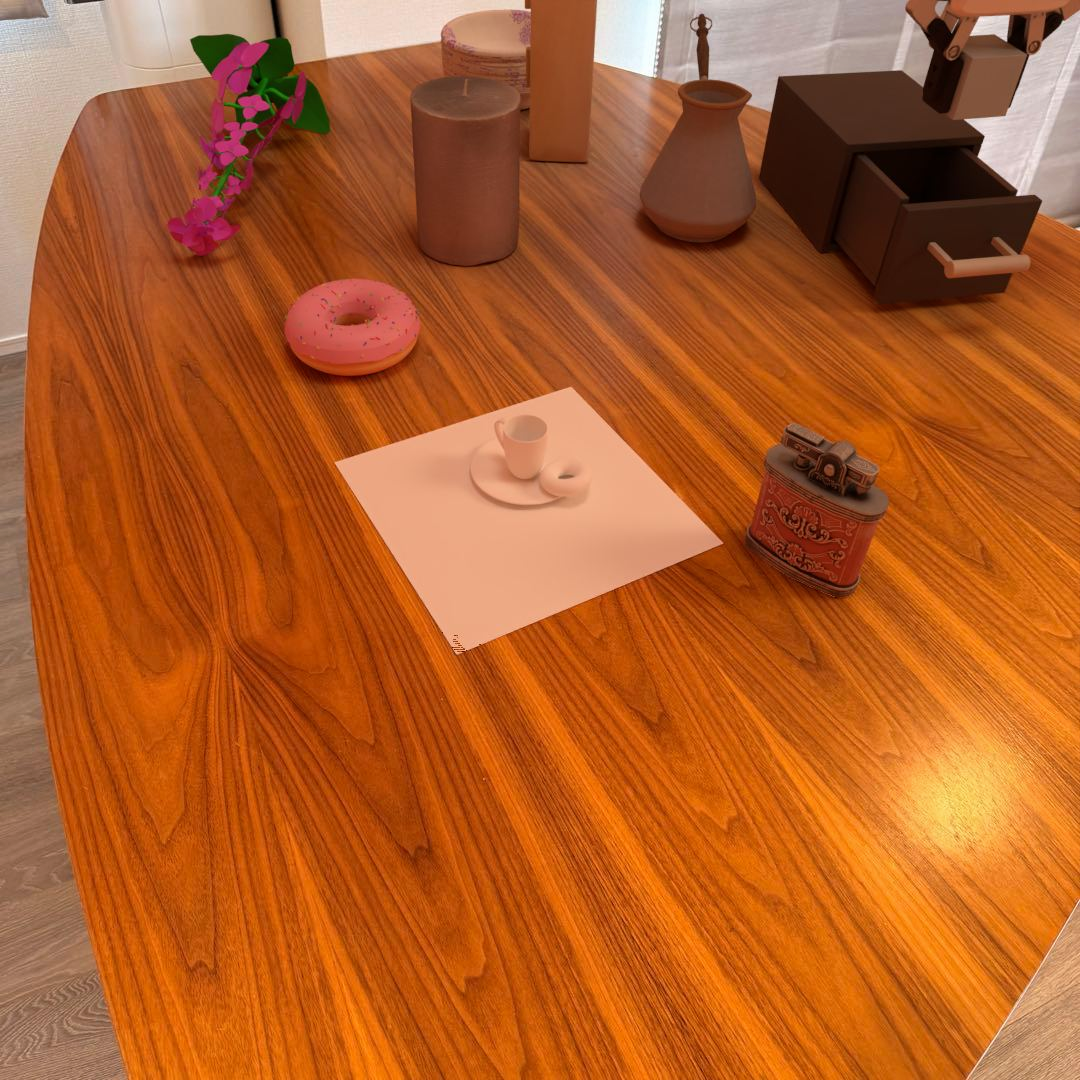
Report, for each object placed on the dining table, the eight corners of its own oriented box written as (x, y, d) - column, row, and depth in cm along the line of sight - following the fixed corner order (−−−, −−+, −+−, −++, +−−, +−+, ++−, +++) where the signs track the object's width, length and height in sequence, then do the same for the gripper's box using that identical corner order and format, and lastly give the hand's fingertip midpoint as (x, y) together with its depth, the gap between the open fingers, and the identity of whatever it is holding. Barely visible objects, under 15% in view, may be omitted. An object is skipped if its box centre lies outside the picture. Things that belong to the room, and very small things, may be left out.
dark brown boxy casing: (947, 242, 96) (985, 136, 89) (820, 253, 94) (847, 144, 87) (873, 170, 108) (901, 69, 100) (758, 177, 106) (778, 75, 98)
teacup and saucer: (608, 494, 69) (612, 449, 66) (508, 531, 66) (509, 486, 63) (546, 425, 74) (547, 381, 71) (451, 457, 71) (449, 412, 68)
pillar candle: (442, 211, 98) (435, 53, 87) (533, 229, 96) (537, 69, 85) (400, 255, 91) (388, 91, 81) (497, 276, 89) (497, 109, 79)
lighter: (866, 578, 64) (912, 462, 56) (840, 607, 62) (884, 490, 55) (761, 520, 67) (792, 403, 60) (734, 545, 65) (762, 428, 58)
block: (974, 94, 80) (994, 33, 76) (1005, 116, 76) (1027, 54, 73) (923, 97, 79) (941, 37, 76) (952, 120, 76) (972, 58, 72)
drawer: (1033, 321, 85) (1075, 227, 79) (903, 334, 83) (935, 238, 77) (923, 213, 99) (951, 126, 92) (809, 222, 97) (830, 133, 90)
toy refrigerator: (524, 131, 112) (528, -79, 98) (588, 134, 112) (601, -76, 97) (521, 161, 107) (524, -57, 92) (588, 164, 107) (601, -54, 92)
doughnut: (317, 400, 75) (310, 355, 72) (269, 331, 82) (260, 287, 79) (444, 362, 79) (442, 317, 76) (388, 298, 86) (384, 255, 83)
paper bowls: (417, 98, 119) (413, 28, 113) (500, 65, 127) (500, -1, 121) (511, 134, 112) (511, 61, 106) (592, 97, 120) (596, 28, 115)
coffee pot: (758, 255, 93) (791, 94, 83) (638, 250, 94) (656, 88, 83) (734, 160, 109) (759, 13, 98) (631, 155, 109) (645, 8, 98)
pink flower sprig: (318, 146, 117) (271, 326, 94) (181, 73, 110) (94, 248, 87) (361, 56, 109) (319, 229, 86) (215, -28, 102) (129, 135, 79)
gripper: (1130, -189, 69) (1032, 80, 81) (912, -185, 66) (846, 93, 79) (1204, -168, 63) (1086, 116, 76) (970, -163, 61) (889, 131, 73)
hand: (965, 102), depth 77 cm, fingers closed on block, 4 cm apart
